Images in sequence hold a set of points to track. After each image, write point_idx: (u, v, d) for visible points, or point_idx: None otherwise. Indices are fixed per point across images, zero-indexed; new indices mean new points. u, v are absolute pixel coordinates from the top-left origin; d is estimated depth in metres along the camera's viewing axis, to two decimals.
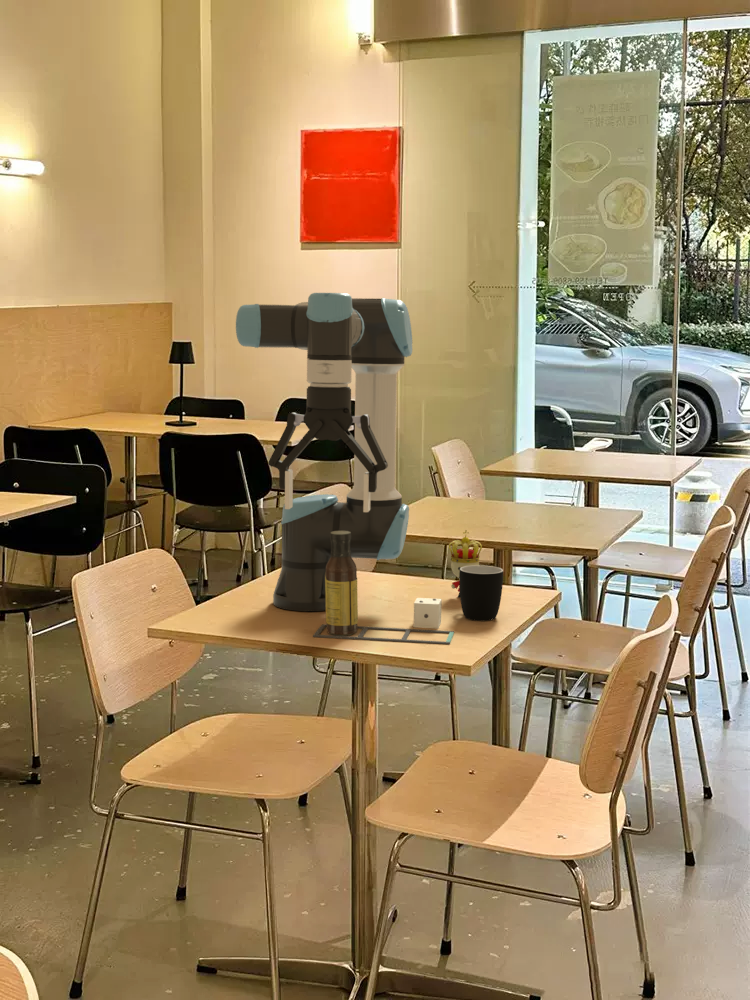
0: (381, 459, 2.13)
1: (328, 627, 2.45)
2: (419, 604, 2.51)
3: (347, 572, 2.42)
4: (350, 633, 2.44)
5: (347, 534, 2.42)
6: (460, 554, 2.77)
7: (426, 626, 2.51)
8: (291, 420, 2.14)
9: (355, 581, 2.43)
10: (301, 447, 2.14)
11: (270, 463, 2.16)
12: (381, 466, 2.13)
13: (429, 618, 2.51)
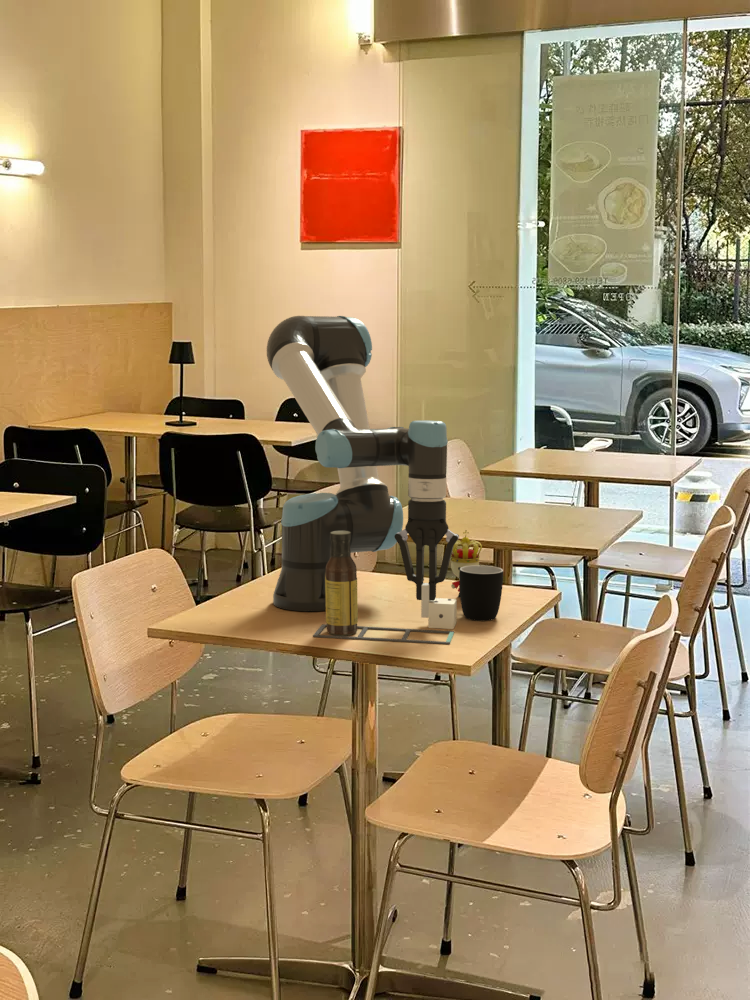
0: (444, 574, 2.50)
1: (328, 627, 2.45)
2: (434, 604, 2.50)
3: (347, 572, 2.42)
4: (350, 633, 2.44)
5: (347, 534, 2.42)
6: (460, 554, 2.77)
7: (441, 626, 2.51)
8: (399, 538, 2.51)
9: (355, 581, 2.43)
10: (420, 557, 2.50)
11: (409, 579, 2.51)
12: (440, 578, 2.50)
13: (444, 618, 2.50)
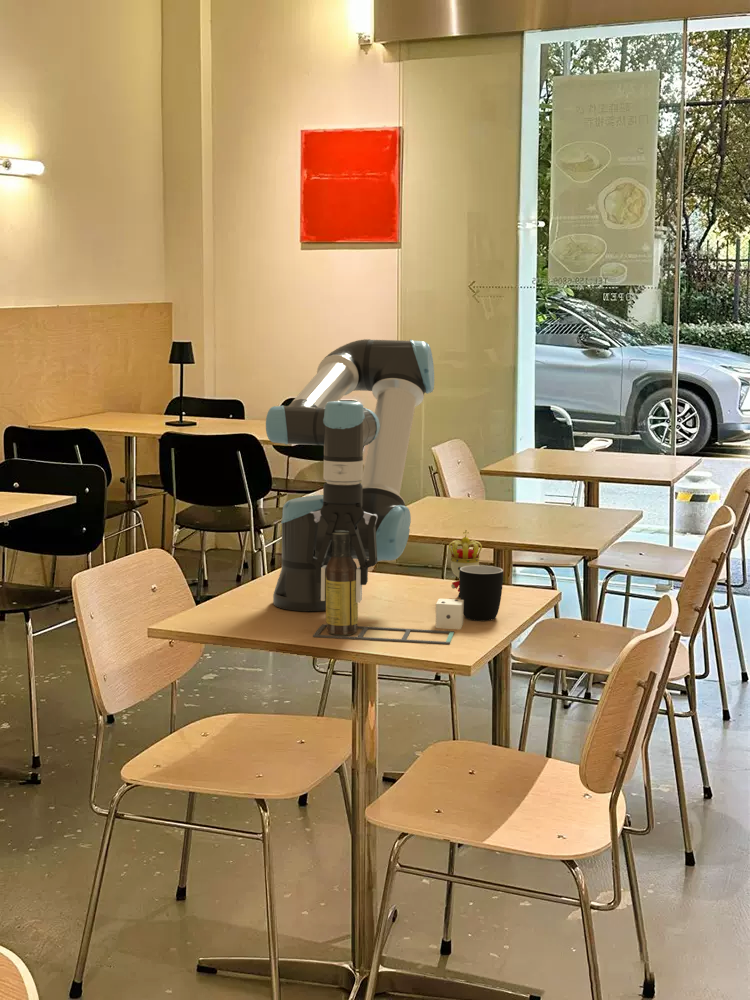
0: (374, 557, 2.42)
1: (328, 627, 2.45)
2: (441, 605, 2.51)
3: (347, 572, 2.42)
4: (350, 633, 2.44)
5: (348, 534, 2.42)
6: (460, 554, 2.77)
7: (448, 627, 2.51)
8: (311, 519, 2.43)
9: (355, 581, 2.43)
10: (327, 541, 2.43)
11: (308, 561, 2.44)
12: (371, 562, 2.42)
13: (451, 619, 2.51)
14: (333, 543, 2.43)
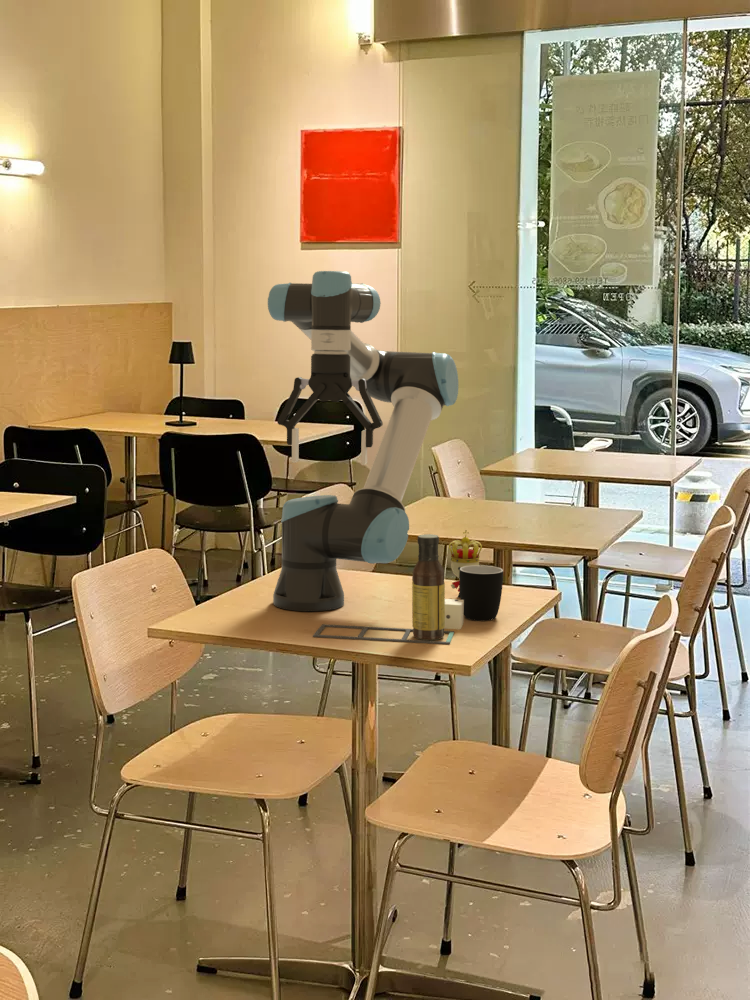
0: (377, 418, 2.41)
1: (415, 632, 2.42)
2: None
3: (435, 576, 2.39)
4: (438, 638, 2.41)
5: (435, 538, 2.39)
6: (460, 554, 2.77)
7: (448, 627, 2.51)
8: (297, 384, 2.43)
9: (443, 585, 2.41)
10: (306, 407, 2.43)
11: (279, 422, 2.44)
12: (377, 424, 2.41)
13: (451, 618, 2.51)
14: (420, 547, 2.40)
